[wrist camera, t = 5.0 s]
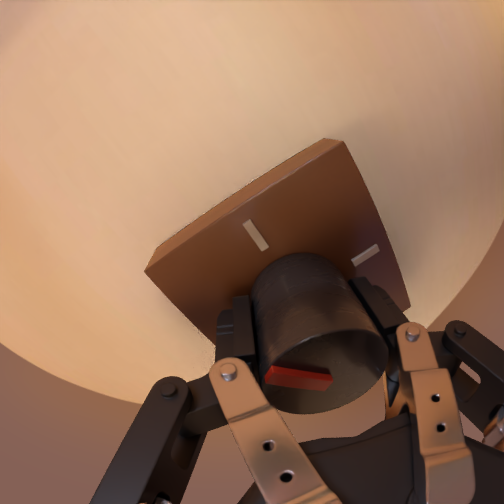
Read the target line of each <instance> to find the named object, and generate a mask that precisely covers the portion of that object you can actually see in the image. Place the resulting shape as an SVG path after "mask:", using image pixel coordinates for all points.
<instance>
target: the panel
mask: <svg viewBox="0 0 504 504" xmlns="http://www.w3.org/2000/svg"><path fill="white" fill-rule="evenodd" d="M297 253H311V254H317V255H320V256H323V257H325V258H327V259H328V260H330V261H331V262H333V263H334V264H335V265H336V266H337V268H338V269H339V270H340V272H341V273H342V275H343V276H344V278H345V279H346V281H347V282H348V280H349V279H352V278H357V277H363V276H365V277H366V278H367V279H368V281H369V282H370V283H371V285H372V286H373V285H378V286H379V287H381V288H383V289H384V290H385V291H386V292H387V293H388V294H389V296H390V298H392V299H393V301H394V302H395V304H396V305H397V306H398V307H399V308H400V310H401V311H402V312H404V311H405V310H407V309H408V308H410V307H411V305H410V301H409V298H408V294H407V291H406V288H405V285H404V281H403V278H402V275H401V272H400V269H399V266H398V263H397V261H396V258H395V255H394V252H393V249H392V247H391V244H390V241H389V239H388V236H387V234H386V231H385V229H384V226H383V224H382V221H381V219H380V216H379V214H378V212H377V209H376V207H375V205H374V202H373V200H372V198H371V196H370V193H369V191H368V189H367V187H366V185H365V182H364V180H363V178H362V176H361V174H360V172H359V170H358V168H357V166H356V164H355V162H354V160H353V158H352V156H351V154H350V152H349V150H348V148H347V147H346V145H345V143H344V142H343V141H339V140H333V139H326V138H323V139H322V140H320V141H318V142H317V143H315V144H313V145H311V146H310V147H308V148H306V149H305V150H303V151H301V152H300V153H298V154H296V155H295V156H293V157H291V158H290V159H288V160H287V161H285V162H283V163H282V164H280V165H278V166H277V167H275V168H274V169H272V170H270V171H269V172H267V173H266V174H264V175H263V176H261V177H259V178H258V179H256V180H255V181H253V182H252V183H250V184H249V185H247V186H245V187H244V188H242V189H241V190H239V191H238V192H236V193H235V194H233V195H232V196H230V197H229V198H227V199H226V200H224V201H223V202H221V203H220V204H218V205H217V206H215V207H214V208H213V209H211V210H210V211H208V212H207V213H205V214H204V215H202V216H201V217H199V218H198V219H197V220H195V221H194V222H192V223H191V224H189V225H188V226H187V227H185V228H184V229H182V230H181V231H180V232H178V233H177V234H175V235H174V236H173V237H171V238H170V239H169V240H167V241H166V242H164V243H163V244H162V245H160V246H159V247H158V248H157V249H156V250H155V252H154V254H153V256H152V258H151V259H150V261H149V263H148V265H147V267H146V269H145V270H144V272H145V273H146V275H147V276H148V277H149V278H150V279H151V280H152V281H153V282H154V283H155V285H156V286H157V287H158V288H159V289H160V290H161V291H162V292H163V293H164V294H165V295H166V296H167V297H168V299H169V300H170V301H171V302H172V303H173V304H174V305H175V306H176V307H177V308H178V309H179V310H180V311H181V312H182V313H183V314H184V315H185V316H186V317H187V318H188V319H189V320H190V321H191V322H192V323H193V324H194V325H195V326H196V327H197V328H198V329H199V330H200V331H201V332H202V333H203V334H204V335H205V336H206V337H207V338H208V339H209V340H210V341H211V342H212V343H213V344H214V345H215V346H216V328H217V317H218V316H219V314H220V313H221V311H222V310H226V309H233V302H232V298H233V297H238V296H245V295H249V298H250V304H251V291H252V288H253V285H254V283H255V281H256V279H257V277H258V276H259V275H260V273H261V272H262V271H263V270H264V269H265V268H266V267H267V266H269V265H270V264H271V263H273V262H274V261H276V260H278V259H280V258H282V257H285V256H288V255H292V254H297ZM251 310H252V309H251Z"/></svg>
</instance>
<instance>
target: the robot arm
mask: <svg viewBox="0 0 504 504" xmlns="http://www.w3.org/2000/svg"><path fill="white" fill-rule="evenodd" d="M348 284H349V285H350V287H351V288H352V290H353V291H354V293H355V294H356V296H357V297H358V299H359V300H360V302H361V303H362V305H363V306H364V308H365V310H366V311H367V313H368V314H369V316H370V317H371V319H372V321H373V322H374V324H375V325H376V327H377V329H378V330H379V332H380V333H381V335H382V337H383V338H384V340H385V342H386V344H387V346H388V350H389V359H388V364H387V366H386V369H385V372H384V375H383V383H384V394H385V409H386V414H385V420H384V421H381V422H380V423H378V424H377V425H375V426H373V427H372V428H370V429H368V430H367V431H365V432H363V433H361V434H360V435H358V436H355V437H343V438H321V439H316V440H311V441H306V442H301V443H298V442H297V441H296V439H295V437H294V436H293V434H292V433H291V431H290V429H289V428H288V426H287V425H286V423H285V421H284V420H283V418H282V417H281V415H280V413H279V412H278V410H277V409H276V407H275V406H274V405H270V404H269V402H268V401H267V399H266V397H265V395H264V394H263V392H262V390H261V388H260V380H259V371H258V362H257V353H256V345H255V336H254V327H253V318H252V310H251V304H250V298H249V295H245V296H238V297H233V298H232V302H233V309H226V310H222V311H221V313H220V314H219V316H218V317H217V328H216V349H215V363H214V364H213V365H212V367H211V368H210V370H209V373H208V374H206V375H205V376H203V377H201V378H199V379H196V380H193V381H190V382H187V383H186V381H185V380H183V379H182V378H180V377H175V376H170V377H165V378H163V379H161V380H159V381H158V382H156V383H155V384H154V386H153V387H152V389H151V390H150V392H149V394H148V396H147V398H146V399H145V401H144V403H143V405H142V407H141V408H140V410H139V412H138V414H137V416H136V417H135V419H134V421H133V423H132V425H131V427H130V429H129V430H128V432H127V434H126V436H125V437H124V439H123V441H122V443H121V445H120V447H119V449H118V451H117V452H116V454H115V456H114V458H113V460H112V461H111V463H110V465H109V467H108V469H107V471H106V473H105V475H104V476H103V479H102V480H101V482H100V484H99V486H98V488H97V490H96V492H95V494H94V496H93V498H92V499H91V501H90V503H89V504H180V502H181V500H182V498H183V495H184V492H185V490H186V487H187V485H188V482H189V480H190V477H191V474H192V472H193V469H194V467H195V464H196V461H197V459H198V456H199V453H200V451H201V448H202V445H203V443H204V440H205V437H206V435H207V432H208V431H210V430H213V429H216V428H219V427H221V426H224V425H227V424H228V425H229V427H230V429H231V432H232V434H233V436H234V438H235V441H236V443H237V445H238V447H239V449H240V452H241V454H242V456H243V458H244V460H245V462H246V464H247V466H248V468H249V471H250V472H251V475H252V477H253V478H254V480H255V482H254V483H253V484H252V486H251V487H250V488H249V489H248V491H247V492H246V493H245V495H244V496H243V497H242V498H241V500H240V501H239V502H238V503H237V504H504V351H503V350H502V349H500V348H499V347H498V346H497V345H495V344H494V343H493V342H491V341H490V340H489V339H487V338H486V337H485V336H483V335H482V334H481V333H479V332H478V331H477V330H475V329H474V328H473V327H471V326H470V325H468V324H467V323H465V322H463V321H459V320H455V321H451V322H449V323H448V324H447V325H446V328H445V330H444V331H439V332H428V331H427V329H426V328H425V327H424V326H422V325H421V324H418V323H415V322H409V320H408V319H407V318H406V316H405V315H404V314H403V312H402V311H401V310H400V308H399V307H398V306H397V305H396V304H395V302H394V301H393V299H392V298H390V296H389V294H388V293H387V292H386V291H385V290H384V289H383V288H381V287H379V286H378V285H373V286H372V285H371V283H370V282H369V281H368V279H367V278H366V277H365V276H363V277H357V278H352V279H349V280H348ZM462 361H463V362H464V363H465V364H466V365H468V366H469V367H470V368H471V369H472V370H474V371H475V372H476V373H477V374H478V375H479V376H480V379H481V383H480V384H479V383H477V382H476V381H475V380H474V379H472V378H471V377H470V376H469V375H468V374H466V372H464V371H463V370H462V369H461V368H460V367H459V366H460V364H461V362H462ZM459 410H460V411H461V412H462V413H463V414H464V415H465V416H466V417H467V418H468V419H469V420H470V421H471V422H472V423H473V424H474V425H475V426H476V427H477V428H478V429H479V430H480V431H481V432H482V433H483V434H484V438H483V440H482V443H481V442H479V441H476V440H474V439H471V438H469V437H467V436H464V434H463V428H462V423H461V418H460V413H459Z"/></svg>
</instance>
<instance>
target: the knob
mask: <svg viewBox="0 0 504 504" xmlns="http://www.w3.org/2000/svg"><path fill="white" fill-rule="evenodd" d="M251 309H252V318H253V327H254V336H255V345H256V353H257V362H258V371H259V380H260V388H261V390H262V392H263V394H264V395H265V397H266V399H267V401H268V402H269V404H270V405H274V406H275V407H276V409H278V410H280V411H283V412H288V413H292V414H315V413H321V412H326V411H330V410H333V409H336V408H339V407H341V406H344V405H346V404H348V403H350V402H352V401H354V400H355V399H357V398H359V397H360V396H362V395H363V394H364V393H366V392H367V391H368V390H369V389H370V388H371V387H372V386H373V385H374V384H375V383H376V382H377V381H378V380H379V379H380V377H381V376H382V374H383V373H384V371H385V369H386V366H387V364H388V359H389V350H388V346H387V344H386V342H385V340H384V338H383V337H382V335H381V333H380V332H379V330H378V329H377V327H376V325H375V324H374V322H373V321H372V319H371V317H370V316H369V314H368V313H367V311H366V310H365V308H364V306H363V305H362V303H361V302H360V300H359V299H358V297H357V296H356V294H355V293H354V291H353V290H352V288H351V287H350V285H349V284H348V282H347V281H346V279H345V278H344V276H343V275H342V273H341V272H340V270H339V269H338V268H337V266H336V265H335V264H334V263H333V262H331V261H330V260H328V259H327V258H325V257H323V256H320V255H317V254H311V253H297V254H292V255H288V256H285V257H282V258H280V259H278V260H276V261H274V262H273V263H271V264H270V265H269V266H267V267H266V268H265V269H264V270H263V271H262V272H261V273H260V275H259V276H258V277H257V279H256V281H255V283H254V285H253V288H252V291H251Z"/></svg>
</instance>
